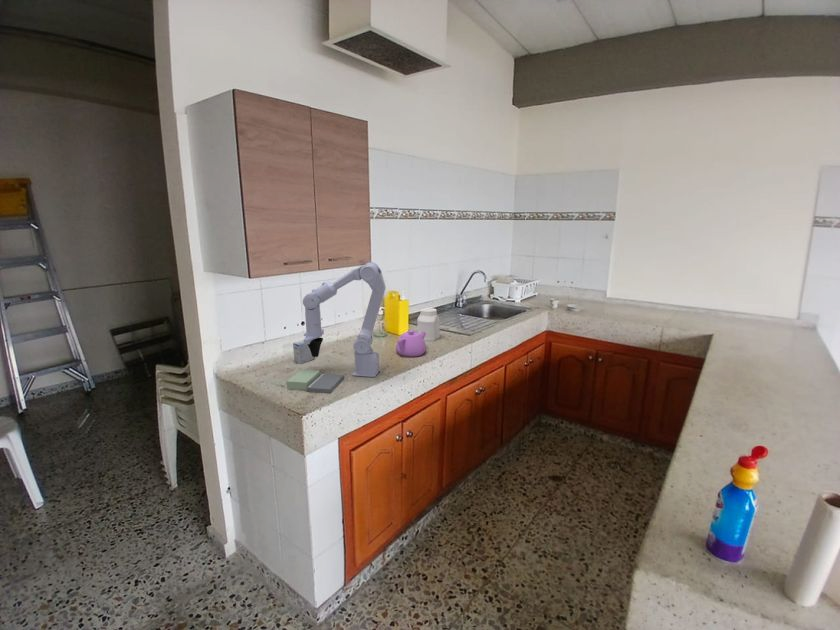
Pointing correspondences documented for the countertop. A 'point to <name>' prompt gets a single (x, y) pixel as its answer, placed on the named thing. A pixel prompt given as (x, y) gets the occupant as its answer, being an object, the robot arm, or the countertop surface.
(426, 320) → the jar
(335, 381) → the ticket body
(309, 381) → the thick sage green slab
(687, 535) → the countertop surface
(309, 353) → the medicine box
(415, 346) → the teapot
